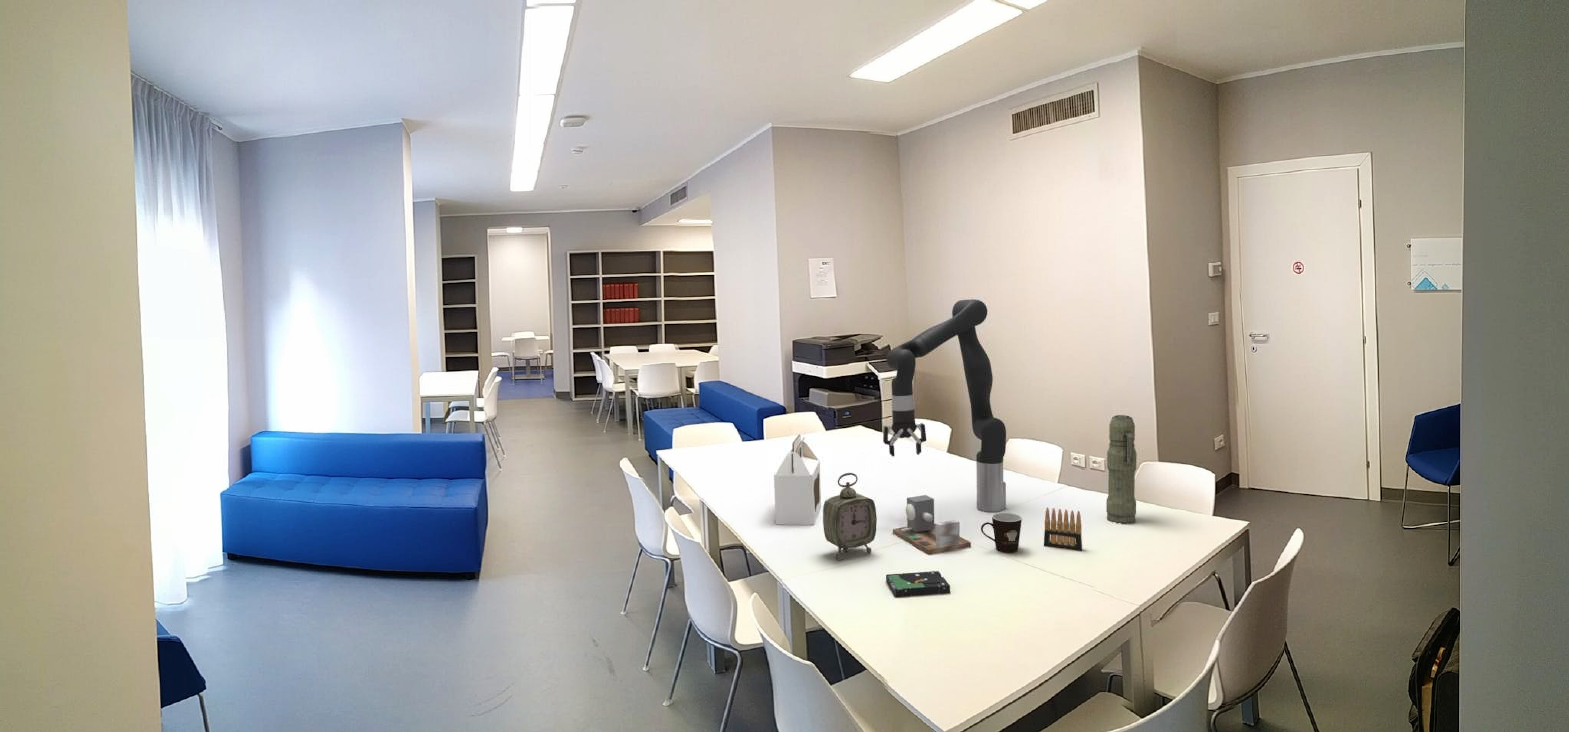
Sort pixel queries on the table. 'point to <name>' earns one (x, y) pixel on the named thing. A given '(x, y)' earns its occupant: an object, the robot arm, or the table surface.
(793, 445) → the gable box
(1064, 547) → the ammunition clip
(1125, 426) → the thermos
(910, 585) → the disk drive
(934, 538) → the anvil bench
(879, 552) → the table surface
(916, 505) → the block
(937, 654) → the table surface
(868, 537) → the tabletop clock
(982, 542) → the table surface
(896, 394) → the robot arm
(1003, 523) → the coffee mug
